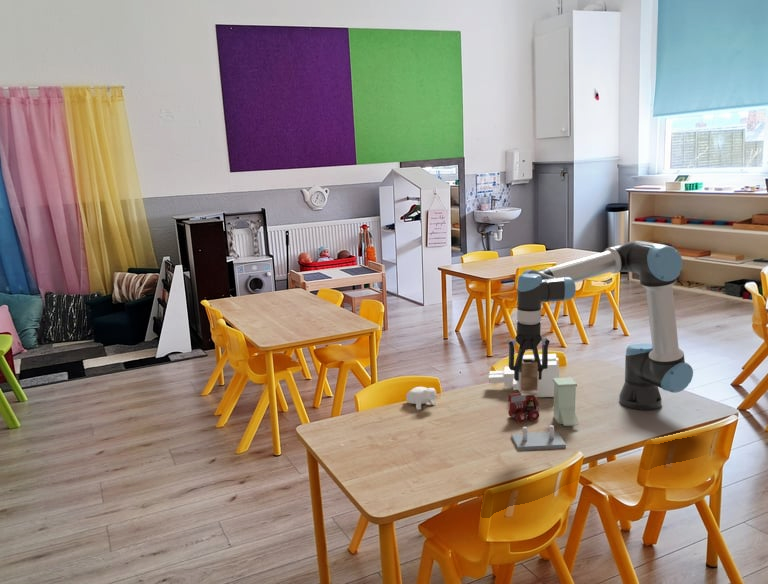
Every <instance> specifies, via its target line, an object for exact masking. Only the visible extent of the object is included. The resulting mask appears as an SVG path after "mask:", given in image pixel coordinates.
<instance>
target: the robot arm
mask: <svg viewBox="0 0 768 584" xmlns="http://www.w3.org/2000/svg"><path fill="white" fill-rule="evenodd" d="M683 264H684V263H683V258H682V255H681V253H680V252H679V250H677V249H676V248H675V247H673V246H670V245H667V244H664V243H655V242H650V241H645V240H633V241H628V242H624V243H620V244H617V245H614V246H609V247H607V248H605V250H603V252H602V251H601V252H600V253H594V254H593V255H592V254H591V255H589V256H585V257H581V258H578V259H575V260H572V261H567V262H564V263H561V264H557V265H554V266H550V267H548V268H547V267H546V268H542V269H539V270H535V269H527V270H525V271H524V272H522V274H520V275H519V276H518V278H517V287H516V291H517V293H516V295H517V311H516V315H517V316H516V320H517V322H516V336H515V338H513V339H507V345H508V366H509V368H510V370H514V379H515V380H516V381H517V389H518V390H517V391H521V371H520V366H521V362H522V359H523V355H525V353H526V351H528V350H531V351H532V355H534V359H535V360H536V362H537V363H538V375H537V390H538V385H539V380H541V378H542V371H543V369H547V368H548V354H549V353H548V352H549V345H550V339H548V338H546V337H545V338H544V337H542V335H541V327H542V326H541V325H542V323H541V321H542V319H541V317H542V303H551V302H560V301H561V302H562V301H563V302H564V301H567V300H572V298H574V297H575V295H576V290H577V289H576V284H575V283H577V282H580V281H584V280H587V279H591V278H595V277H598V276H603V275H605V274H608V273H612V274H618V273H623V272H625V273H634V274H637V275H638V276H639V283H640V285H641V287H643V288H644V289H645V293H646V303H647V311H648V321H649V330H650V339H651V343H635V344H634V343H633V344H630V345H629V346H627V348H626V351H625V362H624V363H625V364H624V365H625V366H624V367H625V368H624V369H625V370H624V372H625V373H624V382H623V383H624V384H623V385H622V388H621V389H620V393H619V395H618V398H619V399H618V402H619V403H620V404H621V405H622V406H624V407H626V408H629V409H634V410H638V411H652V410H656V409H659V408H661V406H662V400H663V399H662V395H661V392H660V389H659V388H661V389H662V390H664V391H667V392H669V393H673V394H674V393H675V394H676V393H680V392H683V391H684V390H685V389H686V388H687V387H688V386H689V385H690V384H691V382H692V380H693V376H694V369H693V367H692V366H691V365H690V364H689V363H688V362H686V360H685V353H684V351H683V350H682V349H680V347H679V338H678V329H677V319H676V309H675V298H674V290H673V289H674V288H673V286H674V285H675V284H676V283H677V278H678V277H679V276H680V275H681V271H682V270H683V266H684V265H683ZM540 343H541V354H542V365H541V362H540V358H539V354H540V353H539V350H538V345H540ZM516 344H518V352H517V356H516V359H515V346H516Z"/></svg>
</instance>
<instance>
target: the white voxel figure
mask: <svg viewBox="0 0 768 584" xmlns="http://www.w3.org/2000/svg"><path fill="white" fill-rule="evenodd" d="M538 354H539V358H540V362H541V365H542V353H538ZM529 358H534V355H533V354H524V355H523V359H529ZM559 362H560V361H559V357H557V354H556V353H548V368H547V369H543V371H542V378H541V380H539V385H538V390H537V395H535V397H536V398H548V397H549V398H550V397H551V398H554V382H553V378H561V376H560V364H559ZM495 383H496V384H497V383H498V384H499V383H504V388H510V387H511V388H512V389H513V391H519V390H518V389H517V381H516V380H515V379H514V370H510V368H509V365H508V366H504V368H503V370H489V374H488V384H495Z"/></svg>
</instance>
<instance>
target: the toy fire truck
mask: <svg viewBox="0 0 768 584" xmlns="http://www.w3.org/2000/svg"><path fill="white" fill-rule="evenodd" d="M507 397H508V398H507V401H508V402H509V405H508V407H509V408H508V411H507V414H508V416H509V417H511V418H515V421H516V422H518V423H520V424H523V423H526V421H527V419H529V420H530V421H533V422H535V421H538V419H539V418H540V403H539V401H538V399H537V397H535V395H521V393H520V392H516V393H511V394H509V395H508V396H507Z"/></svg>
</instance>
